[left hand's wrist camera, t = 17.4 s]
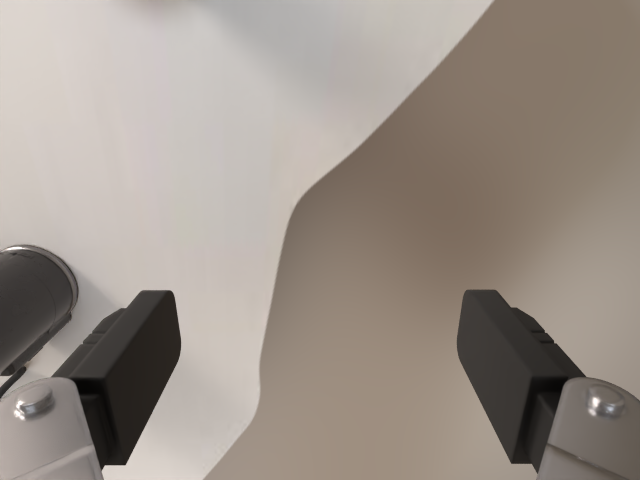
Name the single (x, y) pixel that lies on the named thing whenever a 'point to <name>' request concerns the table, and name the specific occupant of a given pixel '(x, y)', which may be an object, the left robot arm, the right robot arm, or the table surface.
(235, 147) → the table surface
